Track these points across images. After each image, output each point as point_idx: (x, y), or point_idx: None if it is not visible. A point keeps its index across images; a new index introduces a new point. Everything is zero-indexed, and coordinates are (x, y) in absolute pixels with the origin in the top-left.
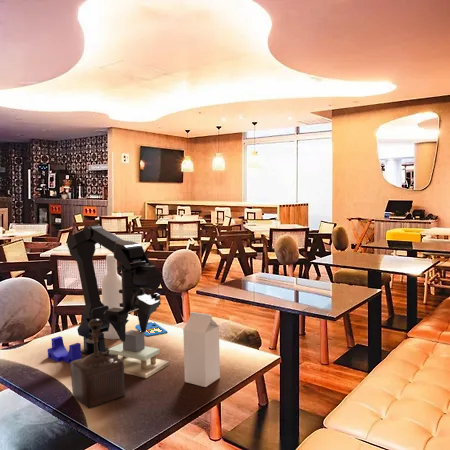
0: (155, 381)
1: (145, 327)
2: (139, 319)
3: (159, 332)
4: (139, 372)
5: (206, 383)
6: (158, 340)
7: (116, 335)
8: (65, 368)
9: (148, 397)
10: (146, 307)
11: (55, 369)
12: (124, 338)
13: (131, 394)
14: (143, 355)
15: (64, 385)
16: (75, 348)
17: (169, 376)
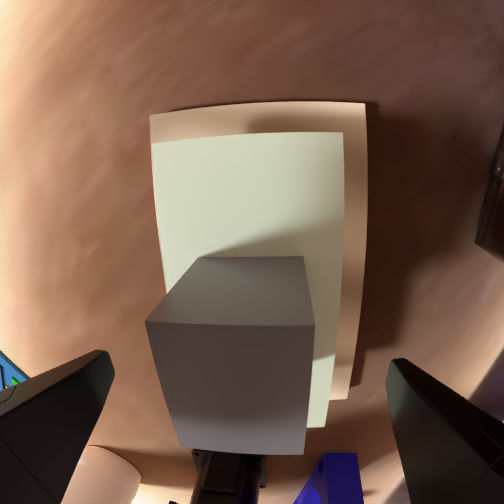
0: (361, 47)
1: (73, 368)
2: (67, 467)
3: (9, 369)
4: (358, 157)
5: None
6: (31, 344)
7: (115, 464)
8: (387, 448)
9: (470, 15)
10: None
11: (399, 457)
12: (414, 371)
13: (492, 84)
14: (326, 160)
15: (497, 358)
16: (349, 496)
17: (278, 22)
